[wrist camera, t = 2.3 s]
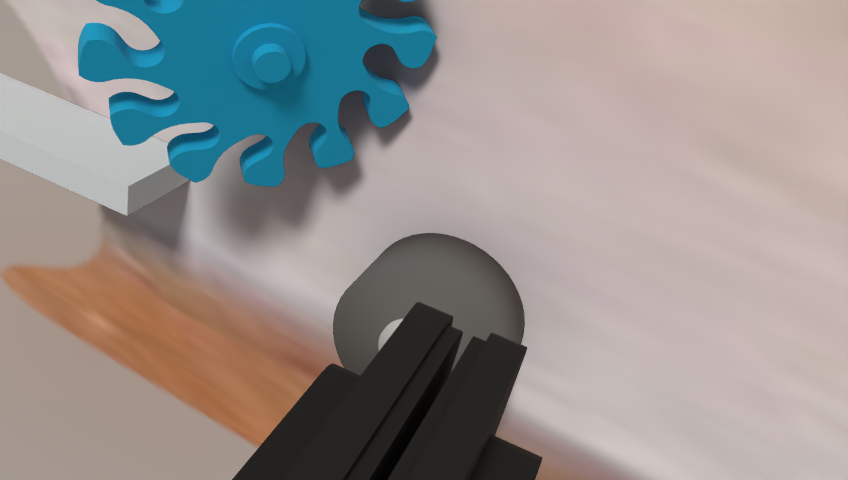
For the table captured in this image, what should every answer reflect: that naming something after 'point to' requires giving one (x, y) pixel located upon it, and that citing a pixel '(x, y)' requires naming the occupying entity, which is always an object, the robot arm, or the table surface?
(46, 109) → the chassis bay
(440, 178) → the table surface
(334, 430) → the robot arm
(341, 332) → the wheel
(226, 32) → the gear
